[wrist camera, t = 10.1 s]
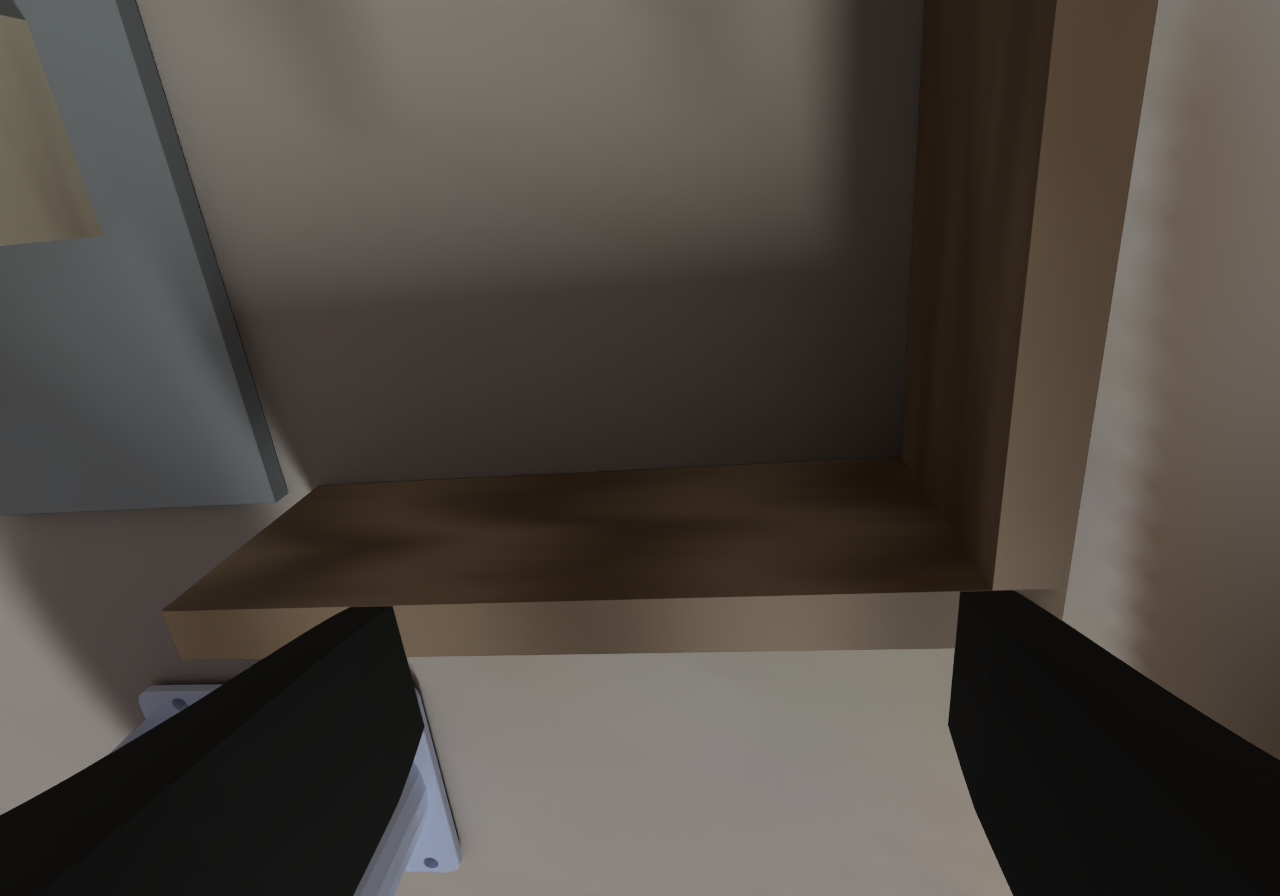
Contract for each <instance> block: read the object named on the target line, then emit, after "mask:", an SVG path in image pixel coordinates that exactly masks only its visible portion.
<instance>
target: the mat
mask: <svg viewBox="0 0 1280 896" xmlns="http://www.w3.org/2000/svg"><path fill="white" fill-rule="evenodd" d="M0 15H4V16H8V17H12V18H17V19H21V20H26V22H27V24H28V27H29V30H30V33H31V36H32V38H33V41H34V44H35V47H36V50H37V53H38V55H39V58H40V61H41V64H42V67H43V69H44V72H45V75H46V78H47V81H48V83H49V86H50V89H51V92H52V95H53V97H54V100H55V103H56V106H57V109H58V111H59V114H60V117H61V120H62V123H63V125H64V128H65V131H66V134H67V137H68V139H69V142H70V145H71V148H72V151H73V153H74V156H75V159H76V162H77V165H78V167H79V170H80V173H81V176H82V179H83V181H84V184H85V187H86V190H87V193H88V195H89V198H90V201H91V204H92V207H93V209H94V212H95V215H96V218H97V221H98V223H99V226H100V229H101V232H102V235H103V236H95V237H85V238H76V239H66V240H56V241H46V242H36V243H27V244H17V245H7V246H0V515H19V514H41V513H63V512H85V511H107V510H129V509H150V508H172V507H194V506H216V505H238V504H260V503H276V502H277V501H279V500H280V499H281V498H282V497H284V496H285V495H286V494H288V492H287V489H286V486H285V482H284V479H283V476H282V473H281V469H280V466H279V463H278V460H277V457H276V453H275V450H274V447H273V444H272V440H271V437H270V434H269V431H268V427H267V424H266V421H265V418H264V415H263V411H262V408H261V405H260V402H259V398H258V395H257V392H256V389H255V386H254V382H253V379H252V376H251V373H250V369H249V366H248V363H247V360H246V356H245V353H244V350H243V347H242V344H241V340H240V337H239V334H238V331H237V327H236V324H235V321H234V318H233V315H232V311H231V308H230V305H229V302H228V298H227V295H226V292H225V289H224V285H223V282H222V279H221V276H220V273H219V269H218V266H217V263H216V260H215V256H214V253H213V250H212V247H211V244H210V240H209V237H208V234H207V231H206V227H205V224H204V221H203V218H202V214H201V211H200V208H199V205H198V202H197V198H196V195H195V192H194V189H193V185H192V182H191V179H190V176H189V173H188V169H187V166H186V163H185V160H184V156H183V153H182V150H181V147H180V143H179V140H178V137H177V134H176V131H175V127H174V124H173V121H172V118H171V114H170V111H169V108H168V105H167V101H166V98H165V95H164V92H163V89H162V85H161V82H160V79H159V76H158V72H157V69H156V66H155V63H154V60H153V56H152V53H151V50H150V47H149V43H148V40H147V37H146V34H145V30H144V27H143V24H142V21H141V18H140V14H139V11H138V8H137V5H136V1H135V0H0Z"/></svg>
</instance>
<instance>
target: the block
mask: <svg viewBox="0 0 1280 896" xmlns="http://www.w3.org/2000/svg"><path fill="white" fill-rule="evenodd" d="M95 236H103V235H102V232H101V229H100V226H99V223H98V221H97V218H96V215H95V212H94V209H93V207H92V204H91V201H90V198H89V195H88V193H87V190H86V187H85V184H84V181H83V179H82V176H81V173H80V170H79V167H78V165H77V162H76V159H75V156H74V153H73V151H72V148H71V145H70V142H69V139H68V137H67V134H66V131H65V128H64V125H63V123H62V120H61V117H60V114H59V111H58V109H57V106H56V103H55V100H54V97H53V95H52V92H51V89H50V86H49V83H48V81H47V78H46V75H45V72H44V69H43V67H42V64H41V61H40V58H39V55H38V53H37V50H36V47H35V44H34V41H33V38H32V36H31V33H30V30H29V27H28V24H27V22H26V20H21V19H17V18H12V17H8V16H4V15H0V246H7V245H17V244H27V243H36V242H46V241H56V240H66V239H76V238H85V237H95Z"/></svg>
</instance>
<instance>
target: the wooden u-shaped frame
mask: <svg viewBox="0 0 1280 896" xmlns="http://www.w3.org/2000/svg"><path fill="white" fill-rule="evenodd" d="M1157 5H1158V0H924V18H923V39H922V59H921V79H920V100H919V120H918V141H917V161H916V182H915V202H914V223H913V243H912V263H911V284H910V304H909V325H908V345H907V366H906V386H905V407H904V427H903V447H902V457H891V458H871V459H850V460H830V461H809V462H789V463H768V464H748V465H727V466H707V467H686V468H666V469H645V470H625V471H604V472H584V473H563V474H543V475H522V476H502V477H481V478H460V479H440V480H419V481H399V482H378V483H358V484H337V485H319V486H318V487H316V488H315V489H314V490H313V491H311V492H310V493H309V494H308V495H306V496H305V497H304V498H302V499H301V500H300V501H299V502H297V503H296V504H295V505H294V506H292V507H291V508H290V509H289V510H287V511H286V512H285V513H284V514H282V515H281V516H280V517H279V518H277V519H276V520H275V521H274V522H272V523H271V524H270V525H269V526H267V527H266V528H265V529H264V530H262V531H261V532H260V533H259V534H257V535H256V536H255V537H254V538H252V539H251V540H250V541H249V542H247V543H246V544H245V545H243V546H242V547H241V548H240V549H238V550H237V551H236V552H235V553H233V554H232V555H231V556H230V557H228V558H227V559H226V560H225V561H223V562H222V563H221V564H220V565H218V566H217V567H216V568H215V569H213V570H212V571H211V572H210V573H208V574H207V575H206V576H205V577H203V578H202V579H201V580H200V581H198V582H197V583H196V584H195V585H193V586H192V587H191V588H190V589H188V590H187V591H186V592H185V593H183V594H182V595H181V596H179V597H178V598H177V599H176V600H174V601H173V602H172V603H171V604H169V605H168V606H167V607H166V608H164V609H163V610H162V611H161V614H162V616H163V618H164V621H165V623H166V626H167V628H168V631H169V633H170V635H171V638H172V640H173V643H174V645H175V647H176V650H177V652H178V655H179V657H180V660H236V659H264V658H265V657H267V656H268V655H270V654H272V653H273V652H275V651H276V650H278V649H279V648H281V647H282V646H284V645H286V644H287V643H289V642H290V641H292V640H294V639H295V638H297V637H298V636H300V635H302V634H303V633H305V632H306V631H308V630H310V629H311V628H313V627H315V626H316V625H318V624H320V623H321V622H323V621H325V620H327V619H328V618H330V617H332V616H334V615H335V614H337V613H339V612H341V611H343V610H345V609H347V608H349V607H368V606H393V609H394V613H395V616H396V620H397V624H398V628H399V631H400V635H401V639H402V643H403V646H404V650H405V654H406V657H428V656H492V655H556V654H620V653H684V652H748V651H812V650H876V649H940V648H955V643H956V631H957V620H958V609H959V598H960V592H961V591H1001V590H1014V591H1016V592H1018V593H1020V594H1021V595H1023V596H1025V597H1026V598H1028V599H1030V600H1031V601H1033V602H1034V603H1036V604H1037V605H1039V606H1041V607H1042V608H1044V609H1045V610H1047V611H1048V612H1050V613H1051V614H1053V615H1054V616H1056V617H1057V618H1059V619H1060V620H1062V617H1063V611H1064V605H1065V598H1066V592H1067V585H1068V579H1069V572H1070V566H1071V559H1072V553H1073V547H1074V540H1075V534H1076V527H1077V521H1078V514H1079V508H1080V501H1081V495H1082V489H1083V482H1084V476H1085V469H1086V463H1087V456H1088V450H1089V443H1090V437H1091V431H1092V424H1093V418H1094V411H1095V405H1096V398H1097V392H1098V386H1099V379H1100V373H1101V366H1102V360H1103V353H1104V347H1105V340H1106V334H1107V328H1108V321H1109V315H1110V308H1111V302H1112V295H1113V289H1114V282H1115V276H1116V270H1117V263H1118V257H1119V250H1120V244H1121V237H1122V231H1123V224H1124V218H1125V212H1126V205H1127V199H1128V192H1129V186H1130V179H1131V173H1132V166H1133V160H1134V154H1135V147H1136V141H1137V134H1138V128H1139V121H1140V115H1141V108H1142V102H1143V96H1144V89H1145V83H1146V76H1147V70H1148V63H1149V57H1150V51H1151V44H1152V38H1153V31H1154V25H1155V18H1156V12H1157Z"/></svg>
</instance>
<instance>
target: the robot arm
mask: <svg viewBox="0 0 1280 896" xmlns="http://www.w3.org/2000/svg"><path fill="white" fill-rule="evenodd" d="M138 701H139V705H140V707H141V710H142V712H143V714H144V716H145V720H144V721H143V722H142V723H141V724H140V725H139V726H138V727H137V728H136V729H135V730H134V731H133V732H132V733H131V734H130V735H129V736H128V737H126V738H125V739H124V740H123V741H122V742H121V743H120V744H119V745H118V746H117V747H116V748H115V749H114V750H113V751H112V752H111V753H110V754H109V755H107V756H105V757H104V758H102V759H100V760H99V761H97V762H95V763H94V764H92V765H90V766H89V767H87V768H85V769H84V770H82V771H80V772H78V773H77V774H75V775H73V776H71V777H70V778H68V779H66V780H64V781H63V782H61V783H59V784H57V785H56V786H54V787H52V788H50V789H48V790H46V791H45V792H43V793H41V794H39V795H37V796H36V797H34V798H32V799H30V800H28V801H27V802H25V803H23V804H21V805H19V806H17V807H15V808H13V809H12V810H10V811H8V812H6V813H4V814H2V815H0V896H394V894H395V892H396V889H397V887H398V885H399V883H400V880H401V878H402V876H403V874H404V871H409V872H453V871H455V870H457V868H458V867H459V865H460V862H461V859H462V853H461V849H460V845H459V841H458V838H457V834H456V830H455V826H454V822H453V819H452V815H451V811H450V807H449V803H448V800H447V796H446V792H445V788H444V784H443V781H442V777H441V773H440V769H439V765H438V762H437V758H436V754H435V750H434V747H433V743H432V739H431V735H430V731H429V728H428V724H427V720H426V716H425V712H424V709H423V705H422V701H421V697H420V694H419V692H418V690H417V689H416V688H415V687H414V684H413V680H412V677H411V673H410V669H409V665H408V662H407V658H406V654H405V650H404V646H403V643H402V639H401V635H400V631H399V628H398V624H397V620H396V616H395V613H394V609H393V606H368V607H349V608H347V609H345V610H343V611H341V612H339V613H337V614H335V615H334V616H332V617H330V618H328V619H327V620H325V621H323V622H321V623H320V624H318V625H316V626H315V627H313V628H311V629H310V630H308V631H306V632H305V633H303V634H302V635H300V636H298V637H297V638H295V639H294V640H292V641H290V642H289V643H287V644H286V645H284V646H282V647H281V648H279V649H278V650H276V651H275V652H273V653H272V654H270V655H268V656H267V657H265V658H264V659H262V660H261V661H259V662H257V663H256V664H254V665H253V666H251V667H250V668H248V669H246V670H245V671H243V672H242V673H240V674H239V675H237V676H235V677H234V678H232V679H231V680H229V681H228V682H226V683H225V684H217V685H153V686H149V687H148V688H147V689H146V690H145V691H144V692H142V693H141V694H140V695H139V698H138ZM948 726H949V730H950V733H951V736H952V739H953V743H954V746H955V749H956V753H957V756H958V759H959V762H960V766H961V769H962V772H963V775H964V778H965V781H966V784H967V787H968V790H969V793H970V796H971V799H972V802H973V805H974V808H975V811H976V813H977V815H978V818H979V820H980V822H981V824H982V827H983V829H984V831H985V834H986V836H987V838H988V840H989V843H990V845H991V847H992V849H993V851H994V854H995V856H996V858H997V860H998V863H999V865H1000V867H1001V869H1002V872H1003V874H1004V876H1005V878H1006V881H1007V883H1008V885H1009V887H1010V889H1011V892H1012V894H1013V896H1280V760H1278V759H1277V758H1275V757H1273V756H1271V755H1270V754H1268V753H1266V752H1265V751H1263V750H1261V749H1260V748H1258V747H1256V746H1255V745H1253V744H1251V743H1250V742H1248V741H1246V740H1245V739H1243V738H1241V737H1240V736H1238V735H1237V734H1235V733H1233V732H1232V731H1230V730H1228V729H1227V728H1225V727H1224V726H1222V725H1220V724H1219V723H1217V722H1216V721H1214V720H1212V719H1211V718H1209V717H1208V716H1206V715H1204V714H1203V713H1201V712H1200V711H1198V710H1197V709H1195V708H1193V707H1192V706H1190V705H1189V704H1187V703H1186V702H1184V701H1182V700H1181V699H1179V698H1178V697H1176V696H1175V695H1173V694H1172V693H1170V692H1169V691H1167V690H1165V689H1164V688H1162V687H1161V686H1159V685H1158V684H1156V683H1155V682H1153V681H1152V680H1150V679H1149V678H1147V677H1145V676H1144V675H1142V674H1141V673H1139V672H1138V671H1136V670H1135V669H1133V668H1132V667H1130V666H1129V665H1127V664H1126V663H1124V662H1123V661H1121V660H1120V659H1118V658H1117V657H1115V656H1114V655H1112V654H1111V653H1109V652H1108V651H1106V650H1105V649H1103V648H1102V647H1100V646H1099V645H1097V644H1096V643H1095V642H1093V641H1092V640H1090V639H1089V638H1087V637H1086V636H1084V635H1083V634H1081V633H1080V632H1078V631H1077V630H1075V629H1074V628H1072V627H1071V626H1069V625H1068V624H1066V623H1065V622H1063V621H1062V620H1060V619H1059V618H1057V617H1056V616H1054V615H1053V614H1051V613H1050V612H1048V611H1047V610H1045V609H1044V608H1042V607H1041V606H1039V605H1037V604H1036V603H1034V602H1033V601H1031V600H1030V599H1028V598H1026V597H1025V596H1023V595H1021V594H1020V593H1018V592H1016V591H1014V590H1001V591H961V592H960V598H959V609H958V620H957V631H956V643H955V654H954V665H953V676H952V687H951V699H950V710H949V721H948Z"/></svg>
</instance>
